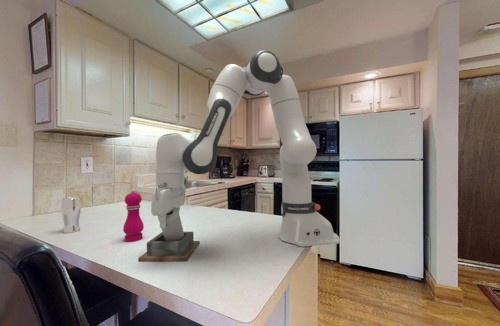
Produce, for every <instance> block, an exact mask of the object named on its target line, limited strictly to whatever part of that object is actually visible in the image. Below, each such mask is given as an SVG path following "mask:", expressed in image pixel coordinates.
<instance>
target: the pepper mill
mask: <svg viewBox="0 0 500 326" xmlns="http://www.w3.org/2000/svg"><path fill="white" fill-rule="evenodd" d="M124 197H125V198H124V203H125V204H126V206H125V207H126V210H127V216H126V220H125V222H124V224H123V228H122V231H123V233H124V234H125V235H124V241H125V242H132V243H133V242H137V241H139V240H142V239H143V232H142V231H143V230H144V229H145V228H144V227H145V226H144V222H143V220H142V218H141V215H140V209H141V203H142V200H143V199H142V198H143V197H142V195H141V194H139V193H137V192H136V189H135V188H132V189H131V190H130V193H128V194H127V195H125V196H124Z"/></svg>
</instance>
